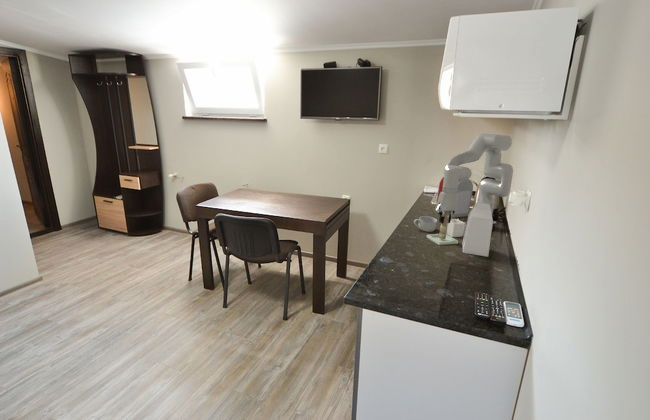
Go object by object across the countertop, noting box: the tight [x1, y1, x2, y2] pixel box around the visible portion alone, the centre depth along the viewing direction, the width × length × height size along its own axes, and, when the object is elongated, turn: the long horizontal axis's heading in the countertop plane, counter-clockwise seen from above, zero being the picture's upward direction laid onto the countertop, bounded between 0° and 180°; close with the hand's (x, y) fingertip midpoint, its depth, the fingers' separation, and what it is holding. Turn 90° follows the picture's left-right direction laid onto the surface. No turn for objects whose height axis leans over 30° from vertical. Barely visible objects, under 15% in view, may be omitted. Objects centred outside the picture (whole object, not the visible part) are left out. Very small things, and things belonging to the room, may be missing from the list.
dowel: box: [438, 211, 450, 239], centre depth 180 cm, size 4×4×16 cm
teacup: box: [413, 215, 438, 233], centre depth 198 cm, size 14×11×8 cm
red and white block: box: [434, 176, 474, 219], centre depth 236 cm, size 17×18×27 cm
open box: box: [446, 218, 466, 238], centre depth 192 cm, size 8×8×9 cm
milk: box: [461, 202, 494, 258], centre depth 168 cm, size 12×12×26 cm
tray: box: [426, 233, 459, 246], centre depth 183 cm, size 12×12×2 cm
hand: (444, 222), depth 180 cm, fingers closed on dowel, 3 cm apart
